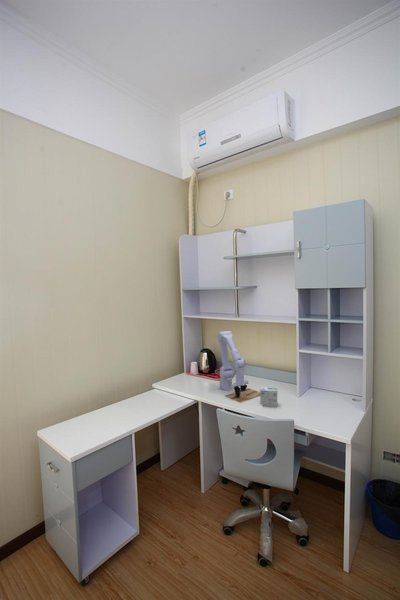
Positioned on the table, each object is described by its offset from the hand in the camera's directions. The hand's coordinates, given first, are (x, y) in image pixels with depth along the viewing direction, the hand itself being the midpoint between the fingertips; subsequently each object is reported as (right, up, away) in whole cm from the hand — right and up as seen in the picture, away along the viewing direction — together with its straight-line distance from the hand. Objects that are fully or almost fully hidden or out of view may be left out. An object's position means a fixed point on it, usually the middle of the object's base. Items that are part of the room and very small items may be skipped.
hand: (240, 395), depth 209 cm
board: (+4, -1, +3) cm, 5 cm away
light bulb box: (+17, -2, -12) cm, 21 cm away
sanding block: (0, 0, 0) cm, 0 cm away
